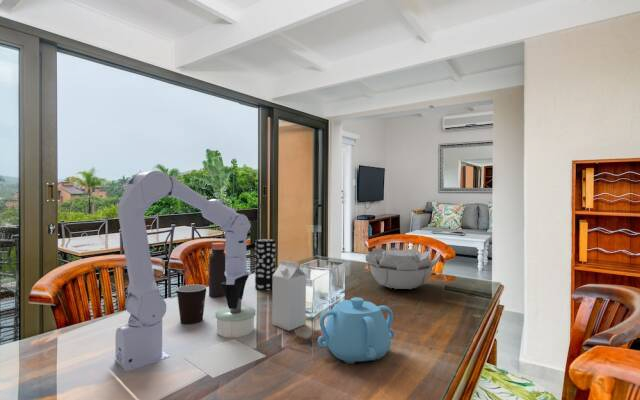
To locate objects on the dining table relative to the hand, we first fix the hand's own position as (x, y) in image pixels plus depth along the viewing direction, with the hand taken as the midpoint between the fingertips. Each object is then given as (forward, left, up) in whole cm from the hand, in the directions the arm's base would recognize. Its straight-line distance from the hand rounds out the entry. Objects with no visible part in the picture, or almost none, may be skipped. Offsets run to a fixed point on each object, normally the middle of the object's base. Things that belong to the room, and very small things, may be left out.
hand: (235, 303), depth 100 cm
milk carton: (+14, -7, -8) cm, 18 cm away
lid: (0, 0, -3) cm, 3 cm away
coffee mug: (-3, +18, -8) cm, 20 cm away
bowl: (0, 0, -8) cm, 8 cm away
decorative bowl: (+75, -8, -8) cm, 76 cm away
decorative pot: (+13, -33, -8) cm, 36 cm away
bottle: (+16, +36, -8) cm, 40 cm away
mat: (-11, -12, -8) cm, 18 cm away
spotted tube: (+35, +31, -8) cm, 47 cm away
